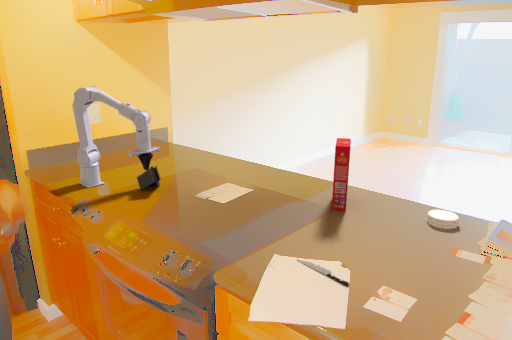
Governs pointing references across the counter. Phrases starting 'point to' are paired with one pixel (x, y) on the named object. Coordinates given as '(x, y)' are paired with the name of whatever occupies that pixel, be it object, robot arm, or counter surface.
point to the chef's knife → (324, 272)
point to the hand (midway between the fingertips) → (146, 169)
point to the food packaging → (341, 174)
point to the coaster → (443, 219)
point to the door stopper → (149, 178)
